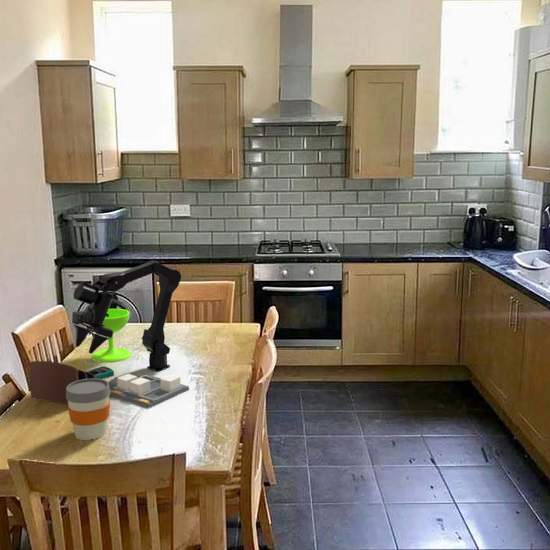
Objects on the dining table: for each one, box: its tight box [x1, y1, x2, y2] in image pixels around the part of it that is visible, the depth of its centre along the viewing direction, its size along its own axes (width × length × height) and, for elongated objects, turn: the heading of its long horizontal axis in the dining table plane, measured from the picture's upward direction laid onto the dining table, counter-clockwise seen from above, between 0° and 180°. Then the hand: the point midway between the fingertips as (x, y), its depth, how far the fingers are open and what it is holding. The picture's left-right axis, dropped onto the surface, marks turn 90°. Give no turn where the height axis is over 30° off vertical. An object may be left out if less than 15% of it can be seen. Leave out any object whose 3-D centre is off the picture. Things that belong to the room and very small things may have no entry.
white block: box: [116, 373, 138, 391], centre depth 214 cm, size 5×5×4 cm
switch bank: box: [109, 374, 190, 408], centre depth 214 cm, size 19×20×2 cm
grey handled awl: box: [108, 376, 119, 390], centre depth 215 cm, size 14×3×3 cm, turn 165°
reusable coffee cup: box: [66, 378, 111, 441], centre depth 182 cm, size 13×12×15 cm
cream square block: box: [160, 374, 181, 392], centre depth 213 cm, size 5×5×4 cm
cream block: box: [130, 377, 151, 395], centre depth 210 cm, size 5×5×4 cm
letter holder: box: [29, 360, 95, 405], centre depth 209 cm, size 10×20×14 cm, turn 70°
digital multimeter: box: [85, 365, 115, 380], centre depth 227 cm, size 7×15×3 cm, turn 140°
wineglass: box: [91, 308, 132, 363], centre depth 250 cm, size 16×16×18 cm
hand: (83, 349), depth 216 cm, fingers open, 9 cm apart
